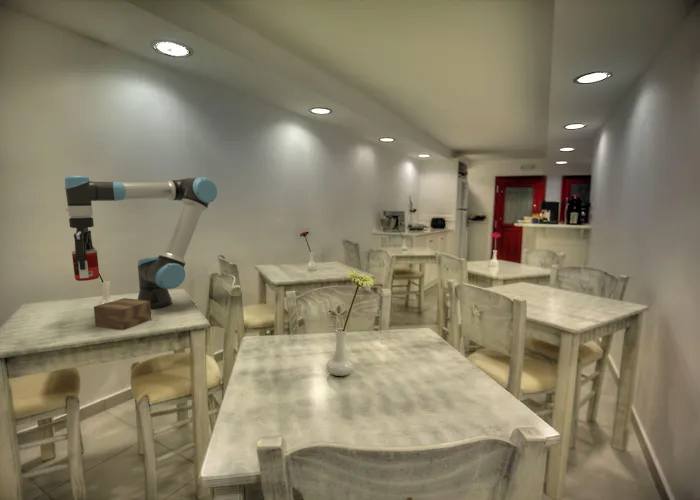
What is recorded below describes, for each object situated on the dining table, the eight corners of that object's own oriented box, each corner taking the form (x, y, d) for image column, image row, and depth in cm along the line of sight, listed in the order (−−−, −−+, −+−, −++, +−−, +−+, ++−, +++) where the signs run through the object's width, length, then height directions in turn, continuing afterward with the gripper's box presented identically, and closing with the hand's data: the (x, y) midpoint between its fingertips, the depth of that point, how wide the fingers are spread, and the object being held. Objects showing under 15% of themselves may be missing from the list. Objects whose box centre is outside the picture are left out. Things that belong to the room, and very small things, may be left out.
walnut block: (125, 316, 164) (124, 298, 163) (151, 319, 160) (150, 300, 159) (95, 326, 151) (93, 306, 150) (122, 330, 147) (121, 310, 146)
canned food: (104, 276, 151) (101, 249, 150) (88, 281, 143) (85, 252, 142) (86, 276, 152) (83, 249, 150) (69, 280, 144) (66, 252, 143)
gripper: (77, 215, 152) (83, 271, 156) (60, 218, 133) (67, 282, 137) (98, 215, 155) (104, 269, 158) (85, 218, 136) (92, 280, 139)
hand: (87, 275), depth 148 cm, fingers closed on canned food, 8 cm apart
